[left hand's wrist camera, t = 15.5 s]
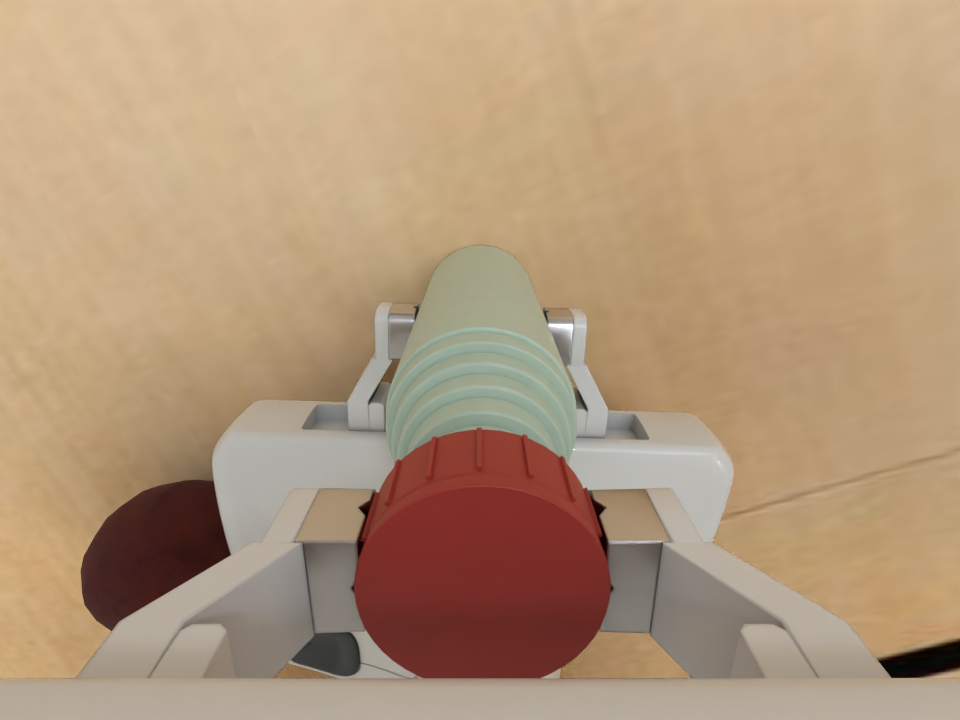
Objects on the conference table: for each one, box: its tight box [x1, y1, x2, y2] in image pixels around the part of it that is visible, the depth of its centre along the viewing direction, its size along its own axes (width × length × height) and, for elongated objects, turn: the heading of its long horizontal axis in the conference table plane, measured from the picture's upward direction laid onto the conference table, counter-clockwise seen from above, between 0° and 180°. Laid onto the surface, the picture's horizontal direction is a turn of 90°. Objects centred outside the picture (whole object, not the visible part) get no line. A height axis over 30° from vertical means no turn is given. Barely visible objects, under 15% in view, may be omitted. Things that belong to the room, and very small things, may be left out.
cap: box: [354, 427, 611, 678], centre depth 10 cm, size 4×4×2 cm
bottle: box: [386, 245, 577, 465], centre depth 18 cm, size 5×5×18 cm
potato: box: [81, 480, 231, 631], centre depth 27 cm, size 7×8×7 cm
